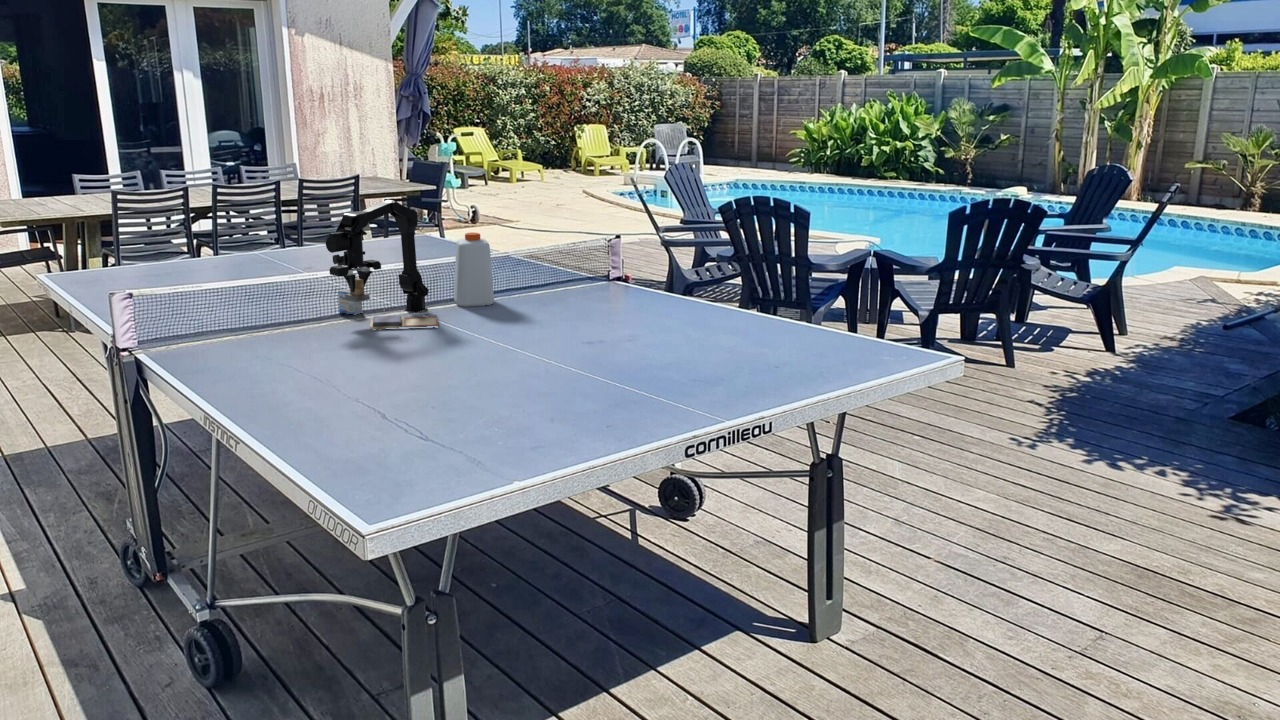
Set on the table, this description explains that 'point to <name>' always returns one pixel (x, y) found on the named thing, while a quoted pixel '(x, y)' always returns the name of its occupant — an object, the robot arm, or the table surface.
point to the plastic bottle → (473, 272)
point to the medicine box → (348, 304)
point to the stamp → (357, 292)
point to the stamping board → (401, 322)
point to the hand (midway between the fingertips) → (357, 291)
